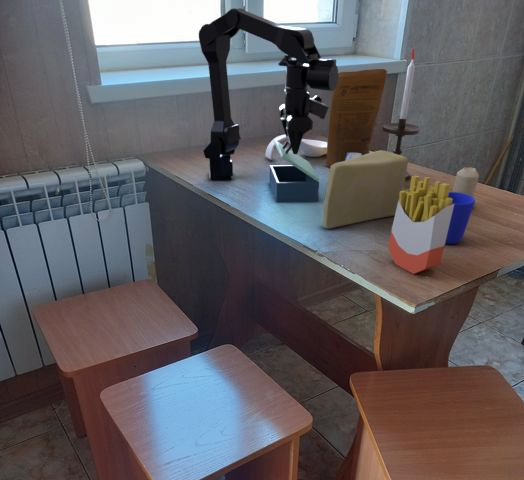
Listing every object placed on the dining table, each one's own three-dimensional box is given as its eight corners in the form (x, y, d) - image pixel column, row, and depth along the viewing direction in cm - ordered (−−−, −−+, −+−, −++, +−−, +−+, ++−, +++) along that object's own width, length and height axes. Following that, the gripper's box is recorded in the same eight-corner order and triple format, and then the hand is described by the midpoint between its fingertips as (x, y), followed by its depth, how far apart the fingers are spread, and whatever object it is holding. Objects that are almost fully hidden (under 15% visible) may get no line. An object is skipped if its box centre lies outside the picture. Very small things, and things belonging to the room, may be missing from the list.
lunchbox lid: (281, 157, 132) (291, 141, 130) (273, 141, 146) (282, 126, 143) (318, 181, 137) (328, 166, 135) (307, 164, 150) (317, 150, 148)
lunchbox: (276, 202, 139) (276, 183, 136) (269, 183, 152) (269, 165, 149) (317, 201, 140) (319, 182, 137) (307, 182, 153) (308, 164, 150)
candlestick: (389, 183, 154) (411, 49, 134) (369, 173, 162) (386, 45, 142) (418, 179, 158) (443, 48, 137) (397, 169, 166) (418, 44, 145)
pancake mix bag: (379, 165, 169) (393, 69, 153) (327, 170, 164) (335, 71, 148) (369, 160, 175) (382, 66, 158) (318, 164, 169) (326, 68, 153)
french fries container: (421, 279, 103) (441, 191, 93) (385, 259, 111) (399, 175, 100) (437, 274, 105) (458, 187, 95) (400, 254, 113) (416, 172, 102)
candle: (460, 210, 136) (469, 172, 130) (445, 204, 140) (453, 166, 134) (475, 207, 138) (485, 169, 132) (460, 201, 142) (469, 164, 136)
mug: (407, 233, 123) (415, 192, 117) (456, 232, 124) (466, 191, 118) (418, 247, 116) (427, 204, 110) (470, 246, 117) (481, 203, 111)
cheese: (337, 235, 121) (344, 171, 112) (310, 222, 127) (315, 160, 119) (400, 216, 132) (410, 156, 123) (372, 205, 138) (380, 147, 130)
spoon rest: (320, 149, 185) (322, 128, 181) (337, 157, 177) (339, 135, 172) (261, 155, 177) (261, 133, 173) (275, 164, 168) (276, 141, 164)
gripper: (335, 93, 124) (329, 159, 133) (320, 81, 139) (315, 141, 148) (290, 93, 123) (287, 160, 132) (279, 81, 138) (277, 142, 147)
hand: (293, 150), depth 140 cm, fingers open, 7 cm apart
